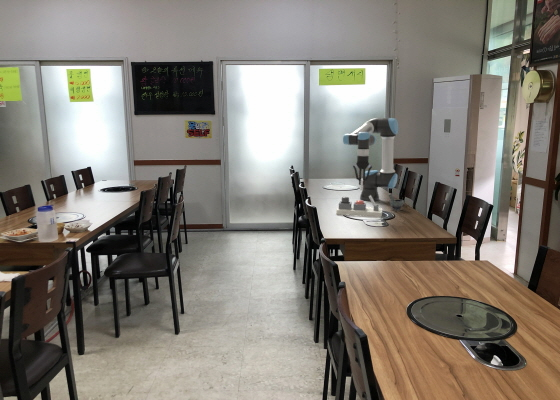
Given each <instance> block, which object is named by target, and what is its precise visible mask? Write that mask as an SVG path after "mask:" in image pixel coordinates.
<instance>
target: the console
mask: <svg viewBox="0 0 560 400" xmlns="http://www.w3.org/2000/svg"><path fill="white" fill-rule="evenodd" d="M346 214H349V215H348V216H354V215H361V216H360V217H371V218H372V217H373V218H374V217H375V218H382V215H383V208H382V207H379V204H376V206H373V207H371V206H370V207H368V206H367V202H364V204H356V201H354V202H353V205H352V201H349V204H347V203H342V200H339V203H338V207H337V209H336V214H335V215H339V216H341V215H342V216H347V215H346Z"/></svg>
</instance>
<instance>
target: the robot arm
mask: <svg viewBox="0 0 560 400" xmlns="http://www.w3.org/2000/svg"><path fill="white" fill-rule="evenodd" d="M398 122H399V121H398V120H397V119H396V118H394V117H392V118H391V117H375V118H371V119H369V120H367V121H365V122H364V123H362V126H360V127H359V128H357V129H356V130H354V131H353V132H351V133H345V134H343V137H342V142H343V144H344V145H346V146H357V152H356V153H357V156H356V157H357V158H356V159H357V160H356V164H354V165H352V168H353V169H354V174H355V178H356V180H358V185H359V187H360V189H359V191H361V194H359V195H360V196H359V200H361V201H367V202H368V201H369V202H371V200H370V198H369V196H372V198H373V200H374V202H375V201H376V202H377V201H379V200H380V195H379V192H378V188H381V189H382V188H386V189H394V188H395V187H396V186H397V182H398V177H399V176H398V174H397V173H396V170H395V169H394V150H395V149H394V145H395V143H394V142H395V141H394V140H395V138H396V136H397V135H398V133H399V127H400V126H399V123H398ZM374 134H379V137H380V138H381V139H382V140H381V169H380V171H379V170H376V169H375V170H373V169H372V168H373V166H372V165H370V162H369V159H370V158H369V157H370V156H369V154H370V147H372V146H374V145H375V144H376V141H377V137H376V136H375V135H374ZM357 168H358V169H359V172H358V169H357ZM367 168H368V170H366V169H367ZM362 171H363V172H362ZM358 174H359V175H358Z"/></svg>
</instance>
